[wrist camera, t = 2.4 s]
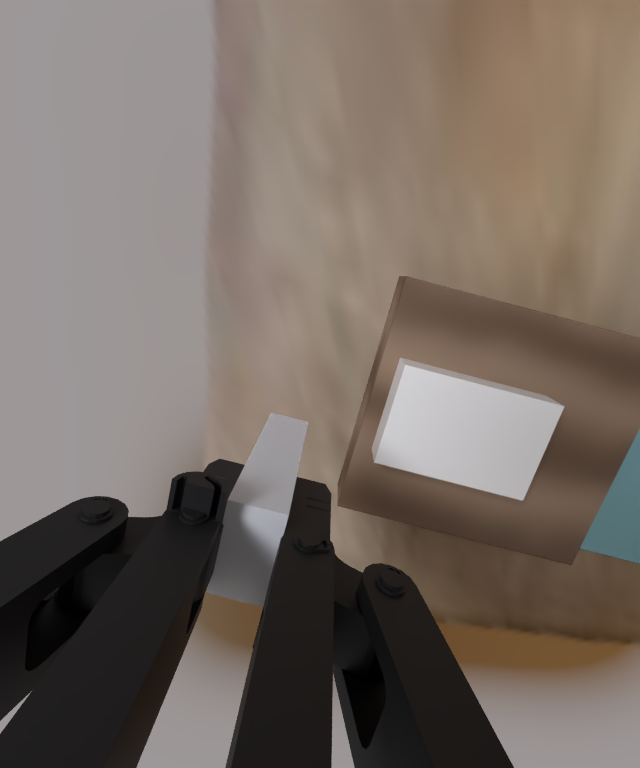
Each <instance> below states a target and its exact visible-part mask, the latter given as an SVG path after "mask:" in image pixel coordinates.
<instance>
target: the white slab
mask: <svg viewBox="0 0 640 768" xmlns="http://www.w3.org/2000/svg"><path fill="white" fill-rule="evenodd" d="M564 407H565V406H563V405H561V404H560V403H558V402H556V401H555V400H553V399H551V398H549V397H548V396H545V395H542V394H538V393H534V392H530V391H526V390H522V389H519V388H515V387H511V386H507V385H503V384H499V383H496V382H492V381H488V380H484V379H480V378H476V377H473V376H469V375H465V374H461V373H457V372H454V371H450V370H446V369H442V368H438V367H434V366H431V365H427V364H423V363H419V362H415V361H411V360H408V359H404V358H400V359H399V363H398V366H397V369H396V372H395V375H394V379H393V382H392V385H391V388H390V391H389V395H388V398H387V401H386V404H385V407H384V410H383V414H382V417H381V420H380V423H379V426H378V430H377V433H376V436H375V439H374V442H373V446H372V454H373V459H374V463H378V464H381V465H385V466H389V467H393V468H397V469H401V470H405V471H409V472H413V473H417V474H420V475H424V476H428V477H432V478H436V479H440V480H444V481H448V482H452V483H455V484H459V485H463V486H467V487H471V488H475V489H479V490H483V491H487V492H491V493H494V494H498V495H502V496H506V497H510V498H514V499H518V500H522V501H523V500H524V497H525V495H526V493H527V491H528V488H529V486H530V484H531V482H532V479H533V477H534V475H535V472H536V470H537V468H538V466H539V463H540V461H541V459H542V457H543V454H544V452H545V450H546V447H547V445H548V443H549V441H550V438H551V436H552V434H553V432H554V429H555V427H556V425H557V422H558V420H559V418H560V416H561V413H562V411H563V409H564Z"/></svg>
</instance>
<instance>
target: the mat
mask: <svg viewBox="0 0 640 768" xmlns="http://www.w3.org/2000/svg"><path fill="white" fill-rule="evenodd" d="M580 549H584V550H588V551H592V552H596V553H600V554H604V555H607V556H611V557H615V558H619V559H623V560H627V561H631V562H635V563H639V564H640V429H639V431H638V433H637V435H636V437H635V439H634V441H633V443H632V445H631V447H630V449H629V451H628V453H627V455H626V457H625V459H624V461H623V463H622V465H621V467H620V469H619V471H618V473H617V475H616V477H615V479H614V481H613V483H612V485H611V487H610V489H609V491H608V493H607V495H606V497H605V499H604V501H603V503H602V505H601V507H600V509H599V511H598V513H597V515H596V517H595V519H594V521H593V523H592V525H591V527H590V529H589V531H588V533H587V535H586V537H585V539H584V541H583V543H582V545H581V547H580Z"/></svg>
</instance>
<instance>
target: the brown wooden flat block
mask: <svg viewBox="0 0 640 768" xmlns="http://www.w3.org/2000/svg"><path fill="white" fill-rule="evenodd" d="M400 358H404V359H408V360H411V361H415V362H419V363H423V364H427V365H431V366H434V367H438V368H442V369H446V370H450V371H454V372H457V373H461V374H465V375H469V376H473V377H476V378H480V379H484V380H488V381H492V382H496V383H499V384H503V385H507V386H511V387H515V388H519V389H522V390H526V391H530V392H534V393H538V394H542V395H545V396H548V397H549V398H551V399H553V400H555V401H556V402H558V403H560V404H561V405H563V406H565V407H564V409H563V411H562V413H561V416H560V418H559V420H558V422H557V425H556V427H555V429H554V432H553V434H552V436H551V438H550V441H549V443H548V445H547V447H546V450H545V452H544V454H543V457H542V459H541V461H540V463H539V466H538V468H537V470H536V472H535V475H534V477H533V479H532V482H531V484H530V486H529V488H528V491H527V493H526V495H525V497H524V500H523V501H522V500H518V499H514V498H510V497H506V496H502V495H498V494H494V493H491V492H487V491H483V490H479V489H475V488H471V487H467V486H463V485H459V484H455V483H452V482H448V481H444V480H440V479H436V478H432V477H428V476H424V475H420V474H417V473H413V472H409V471H405V470H401V469H397V468H393V467H389V466H385V465H381V464H378V463H374V459H373V454H372V446H373V442H374V439H375V436H376V433H377V430H378V426H379V423H380V420H381V417H382V414H383V410H384V407H385V404H386V401H387V398H388V395H389V391H390V388H391V385H392V382H393V379H394V375H395V372H396V369H397V366H398V363H399V359H400ZM639 429H640V338H637V337H633V336H629V335H626V334H622V333H618V332H614V331H610V330H607V329H603V328H599V327H595V326H592V325H588V324H584V323H580V322H576V321H573V320H569V319H565V318H561V317H558V316H554V315H550V314H546V313H543V312H539V311H535V310H531V309H527V308H524V307H520V306H516V305H512V304H509V303H505V302H501V301H497V300H493V299H490V298H486V297H482V296H478V295H475V294H471V293H467V292H463V291H460V290H456V289H452V288H448V287H444V286H441V285H437V284H433V283H429V282H426V281H422V280H418V279H414V278H410V277H405V276H399V280H398V283H397V286H396V290H395V293H394V296H393V300H392V303H391V306H390V310H389V313H388V317H387V320H386V323H385V327H384V330H383V333H382V337H381V340H380V344H379V347H378V350H377V354H376V357H375V360H374V364H373V367H372V370H371V374H370V377H369V381H368V384H367V387H366V391H365V394H364V397H363V401H362V404H361V407H360V411H359V414H358V418H357V421H356V424H355V428H354V431H353V434H352V438H351V441H350V444H349V448H348V451H347V455H346V458H345V461H344V465H343V468H342V471H341V475H340V478H339V482H338V506H340V507H344V508H348V509H352V510H356V511H360V512H364V513H368V514H372V515H376V516H380V517H383V518H387V519H391V520H395V521H399V522H403V523H407V524H411V525H415V526H419V527H423V528H427V529H431V530H435V531H438V532H442V533H446V534H450V535H454V536H458V537H462V538H466V539H470V540H474V541H478V542H482V543H486V544H490V545H494V546H497V547H501V548H505V549H509V550H513V551H517V552H521V553H525V554H529V555H533V556H537V557H541V558H545V559H549V560H553V561H556V562H560V563H564V564H568V565H572V563H573V561H574V559H575V557H576V555H577V553H578V551H579V549H580V547H581V545H582V543H583V541H584V539H585V537H586V535H587V533H588V531H589V529H590V527H591V525H592V523H593V521H594V519H595V517H596V515H597V513H598V511H599V509H600V507H601V505H602V503H603V501H604V499H605V497H606V495H607V493H608V491H609V489H610V487H611V485H612V483H613V481H614V479H615V477H616V475H617V473H618V471H619V469H620V467H621V465H622V463H623V461H624V459H625V457H626V455H627V453H628V451H629V449H630V447H631V445H632V443H633V441H634V439H635V437H636V435H637V433H638V431H639Z"/></svg>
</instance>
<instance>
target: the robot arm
mask: <svg viewBox="0 0 640 768" xmlns="http://www.w3.org/2000/svg"><path fill="white" fill-rule="evenodd" d="M307 425H308V422H306V421H302V420H298V419H294V418H290V417H286V416H282V415H278V414H274V413H271V414H270V416H269V418H268V420H267V422H266V424H265V426H264V428H263V430H262V432H261V434H260V436H259V438H258V440H257V442H256V444H255V446H254V448H253V450H252V452H251V454H250V456H249V458H248V460H247V462H246V464H245V465H243V464H239V463H235V462H231V461H227V460H223V459H218V460H216V461H214V462H212V463H210V464H208V466H207V467H206V469H205V470H204V472H186V473H182V474H179V475H177V476H176V477H174V478H173V479H172V483H171V488H170V494H169V499H168V505H167V510H166V511H165V512H164V514H163V515H162V516H158V517H145V518H143V517H128V512H129V511H128V508H127V507H126V505H125V504H124V503H122V502H121V501H119V500H118V499H114V498H110V497H104V496H103V497H101V496H95V497H88V498H83V499H80V500H77V501H75V502H72V503H70V504H69V505H67V506H65V507H63V508H61V509H60V510H57V511H56V512H54V513H52V514H50V515H48V516H46V517H45V518H43V519H41V520H39V521H37V522H35V523H33V524H32V525H30V526H28V527H26V528H24V529H22V530H20V531H19V532H17V533H15V534H13V535H11V536H9V537H7V538H6V539H4V540H2V541H0V721H1V720H2V719H3V718H4V717H5V716H6V715H7V714H8V713H9V712H10V711H11V710H12V709H13V708H14V707H15V706H16V705H17V704H18V703H19V702H20V701H21V700H23V699H24V698H25V697H26V696H27V695H28V694H29V693H30V692H31V691H32V692H31V693H30V695H29V696H28V697H27V699H26V700H25V702H24V703H23V704H22V705H21V707H20V708H19V709H18V711H17V712H16V713H15V715H14V716H13V718H12V719H11V720H10V722H9V723H8V724H7V726H6V727H5V728H4V730H3V731H2V732H1V734H0V768H136V767H137V764H138V762H139V760H140V756H141V755H142V752H143V750H144V747H145V745H146V743H147V740H148V737H149V735H150V733H151V730H152V728H153V725H154V723H155V720H156V718H157V716H158V713H159V711H160V708H161V706H162V704H163V701H164V699H165V696H166V694H167V691H168V689H169V686H170V684H171V682H172V679H173V677H174V674H175V672H176V669H177V667H178V665H179V662H180V660H181V657H182V655H183V652H184V650H185V647H186V645H187V643H188V640H189V638H190V635H191V633H192V630H193V628H194V625H195V623H196V621H197V618H198V616H199V613H200V611H201V608H202V603H203V598H204V594H205V591H206V589H207V586H208V584H209V586H208V591H207V593H210V594H214V595H218V596H222V597H226V598H230V599H234V600H238V601H242V602H246V603H250V604H255V605H259V606H263V611H262V615H261V618H260V622H259V625H258V629H257V633H256V637H255V640H254V644H253V652H252V656H251V660H250V665H249V669H248V673H247V677H246V682H245V686H244V690H243V695H242V699H241V703H240V707H239V712H238V716H237V720H236V725H235V729H234V733H233V738H232V742H231V746H230V751H229V755H228V759H227V763H226V768H331V754H332V753H331V752H332V689H333V688H332V687H333V685H332V684H333V683H332V682H333V674H334V678H335V682H336V687H337V691H338V696H339V700H340V705H341V709H342V713H343V718H344V722H345V727H346V731H347V735H348V740H349V744H350V749H351V753H352V758H353V762H354V766H355V768H514V767H513V765H512V763H511V761H510V760H509V758H508V756H507V754H506V752H505V750H504V749H503V747H502V745H501V743H500V741H499V739H498V738H497V735H496V733H495V732H494V730H493V728H492V726H491V724H490V722H489V720H488V719H487V717H486V715H485V713H484V711H483V709H482V707H481V705H480V704H479V702H478V700H477V698H476V696H475V694H474V692H473V691H472V689H471V687H470V685H469V683H468V681H467V679H466V678H465V676H464V674H463V672H462V670H461V668H460V667H459V665H458V663H457V661H456V659H455V657H454V655H453V653H452V651H451V650H450V648H449V646H448V644H447V642H446V640H445V638H444V637H443V635H442V633H441V631H440V629H439V627H438V625H437V623H436V622H435V620H434V618H433V616H432V614H431V612H430V610H429V608H428V607H427V605H426V603H425V601H424V599H423V597H422V595H421V594H420V592H419V590H418V588H417V586H416V585H415V583H414V582H413V581H412V579H411V578H410V577H409V576H407V575H406V574H405V573H404V572H402V571H401V570H399V569H397V568H395V567H393V566H390V565H386V564H381V563H380V564H371V565H369V566H368V567H366V568H365V570H364V572H363V573H362V572H360V571H358V570H356V569H354V568H352V567H350V566H348V565H347V564H345V563H344V562H342V561H341V560H340V559H339V558H338V557H337V556H336V555H335V550H334V546H333V543H332V542H331V541H330V519H331V513H330V512H331V493H330V491H329V489H328V488H327V486H326V484H323V483H319V482H315V481H311V480H307V479H303V478H299V477H297V473H298V469H299V464H300V459H301V454H302V449H303V444H304V440H305V435H306V430H307Z"/></svg>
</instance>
